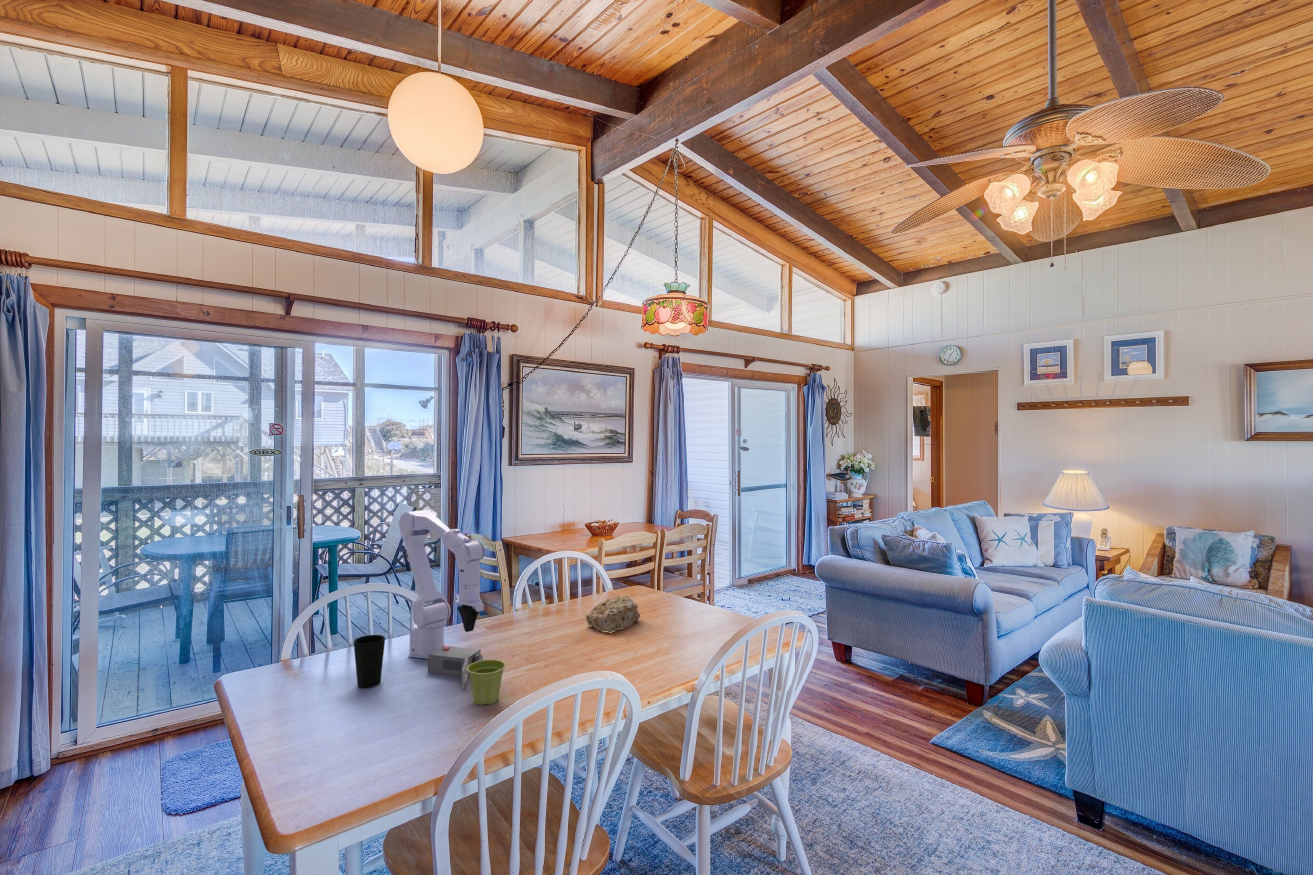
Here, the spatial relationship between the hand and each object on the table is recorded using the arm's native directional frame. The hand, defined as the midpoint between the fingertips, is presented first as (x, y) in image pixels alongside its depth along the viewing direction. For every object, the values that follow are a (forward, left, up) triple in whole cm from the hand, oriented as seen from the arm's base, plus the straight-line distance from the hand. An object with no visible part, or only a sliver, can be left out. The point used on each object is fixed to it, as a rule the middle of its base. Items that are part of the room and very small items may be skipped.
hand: (468, 630), depth 180 cm
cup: (-19, -18, -11) cm, 28 cm away
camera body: (-3, -3, -10) cm, 11 cm away
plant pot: (+16, -19, -11) cm, 27 cm away
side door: (+5, -11, -10) cm, 16 cm away
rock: (+28, +50, -11) cm, 58 cm away
